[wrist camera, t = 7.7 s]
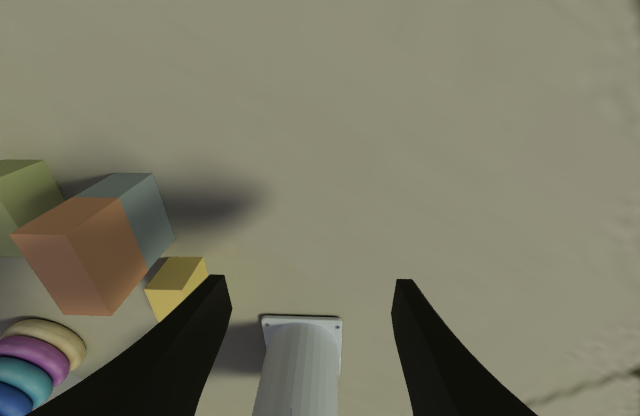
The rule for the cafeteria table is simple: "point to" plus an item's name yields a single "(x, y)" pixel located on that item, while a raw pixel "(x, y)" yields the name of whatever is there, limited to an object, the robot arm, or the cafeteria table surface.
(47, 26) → the cafeteria table surface
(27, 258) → the terracotta brick
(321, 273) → the cafeteria table surface
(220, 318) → the robot arm
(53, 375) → the stacking toy
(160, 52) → the cafeteria table surface
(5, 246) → the olive brick
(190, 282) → the mustard brick
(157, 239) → the slate brick
